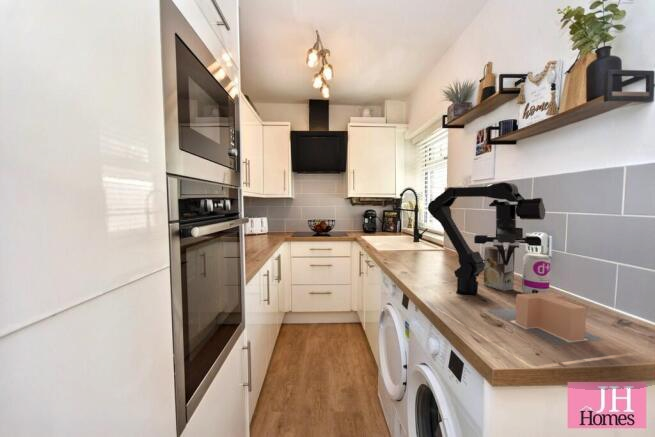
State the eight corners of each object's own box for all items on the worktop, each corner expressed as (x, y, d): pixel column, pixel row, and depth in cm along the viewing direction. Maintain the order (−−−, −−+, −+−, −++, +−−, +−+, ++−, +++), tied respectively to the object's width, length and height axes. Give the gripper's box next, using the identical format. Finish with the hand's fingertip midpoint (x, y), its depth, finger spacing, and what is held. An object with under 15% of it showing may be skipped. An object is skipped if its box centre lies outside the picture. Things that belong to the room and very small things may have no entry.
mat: (485, 311, 85) (485, 310, 85) (524, 308, 88) (524, 307, 88) (556, 346, 64) (556, 345, 64) (604, 340, 67) (604, 339, 67)
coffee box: (514, 289, 109) (516, 249, 108) (503, 291, 106) (505, 250, 106) (492, 283, 117) (494, 246, 117) (482, 284, 115) (483, 247, 114)
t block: (515, 322, 76) (516, 294, 76) (549, 319, 79) (551, 292, 79) (557, 342, 65) (559, 310, 65) (596, 338, 68) (598, 306, 67)
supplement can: (553, 298, 99) (556, 257, 98) (528, 296, 101) (530, 256, 100) (541, 291, 107) (543, 253, 106) (517, 289, 108) (519, 252, 108)
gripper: (472, 220, 91) (473, 266, 91) (543, 220, 81) (543, 272, 81) (475, 219, 100) (475, 261, 101) (539, 219, 90) (539, 266, 91)
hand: (505, 265), depth 93 cm, fingers closed
